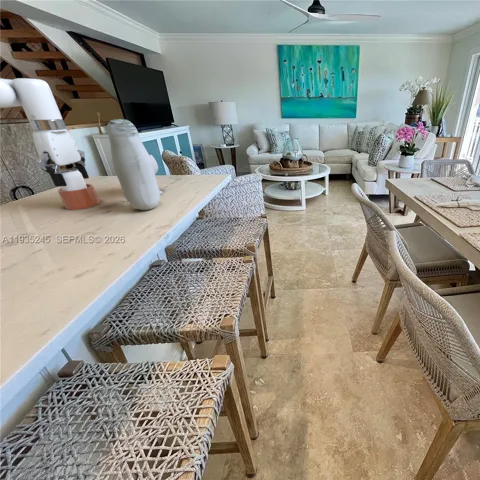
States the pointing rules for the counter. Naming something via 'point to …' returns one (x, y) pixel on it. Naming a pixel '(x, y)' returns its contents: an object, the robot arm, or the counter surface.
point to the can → (72, 180)
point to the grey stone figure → (133, 165)
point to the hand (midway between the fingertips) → (73, 182)
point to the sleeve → (79, 198)
